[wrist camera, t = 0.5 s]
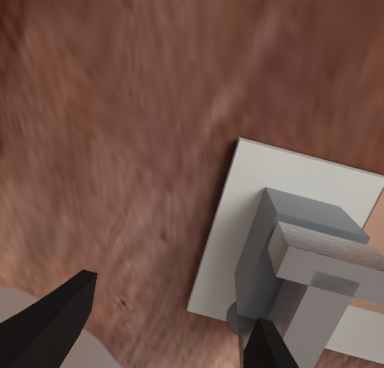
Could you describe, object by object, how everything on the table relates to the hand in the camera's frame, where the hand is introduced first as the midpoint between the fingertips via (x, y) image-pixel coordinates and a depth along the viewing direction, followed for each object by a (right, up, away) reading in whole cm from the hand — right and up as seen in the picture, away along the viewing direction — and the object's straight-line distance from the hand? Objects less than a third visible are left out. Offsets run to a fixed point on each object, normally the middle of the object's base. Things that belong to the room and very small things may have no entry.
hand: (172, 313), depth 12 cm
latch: (+6, -1, +8) cm, 11 cm away
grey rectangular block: (+7, +1, +8) cm, 11 cm away
